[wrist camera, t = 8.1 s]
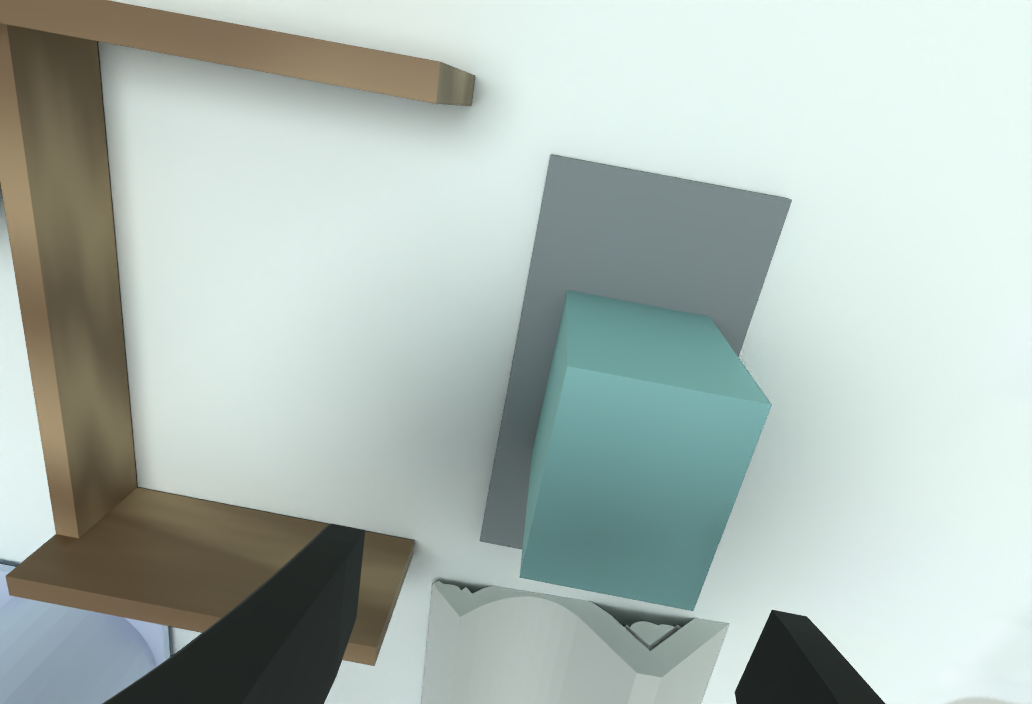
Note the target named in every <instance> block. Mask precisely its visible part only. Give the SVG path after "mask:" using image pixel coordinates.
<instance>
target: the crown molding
mask: <svg viewBox="0 0 1032 704" xmlns="http://www.w3.org/2000/svg"><path fill="white" fill-rule="evenodd" d="M728 627H729V623H723V622H716V621H710V620H704V619H698V618H694V619H693V620H692V621H690V622H689V623H688V624H686V625H685V626H684V627H682V628H681V627H680V626H679V625H676V626H675V627H673V626H670V625H665V624H661V625H656V624H653V623H650V622H646V621H640V622H636V623H634V624H632V625H631V626H630V627H629V626H628V625H626V626H625V627H623V626H622V625H621V624H620V623H619V622H618V621H617V620H616V619H614V618H613V617H612V616H611V615H610V614H608V613H607V612H606V611H604V610H603V609H601V608H600V607H598V606H597V605H595V604H594V603H592V602H591V601H585V600H578V599H572V598H566V597H559V596H553V595H547V594H541V593H534V592H528V591H522V590H515V589H509V588H503V587H497V586H489V587H486V588H483V589H481V590H479V591H477V592H475V593H473V594H472V593H471V592H470V591H469V590H468V588H467V587H466V588H464V589H462V590H460V588H459V587H457V586H455V585H452V584H443V583H441V582H440V581H437V582H435V583H433V584H432V592H431V603H430V613H429V623H428V634H427V644H426V654H425V665H424V675H423V685H422V696H421V704H701V702H702V700H703V697H704V694H705V691H706V688H707V685H708V683H709V680H710V677H711V674H712V671H713V669H714V666H715V663H716V660H717V657H718V655H719V652H720V649H721V646H722V643H723V641H724V638H725V635H726V632H727V629H728Z"/></svg>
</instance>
